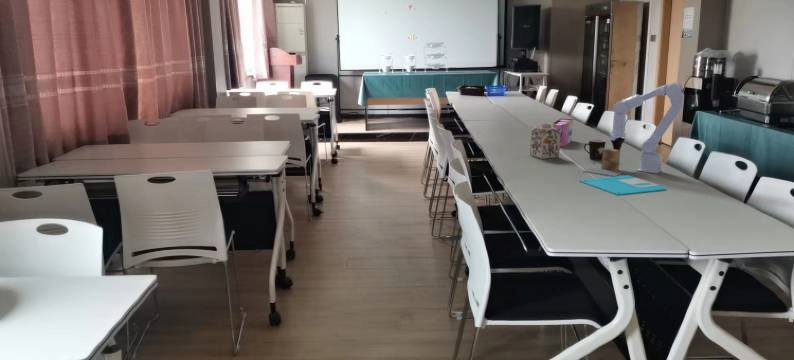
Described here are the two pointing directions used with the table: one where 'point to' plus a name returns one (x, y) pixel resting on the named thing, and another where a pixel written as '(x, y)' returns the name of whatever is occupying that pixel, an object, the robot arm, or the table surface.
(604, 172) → the slate mat
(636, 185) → the diskette
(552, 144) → the decorative jar
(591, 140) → the coffee mug
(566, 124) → the gum box
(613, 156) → the cardboard box
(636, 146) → the table surface
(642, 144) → the robot arm
